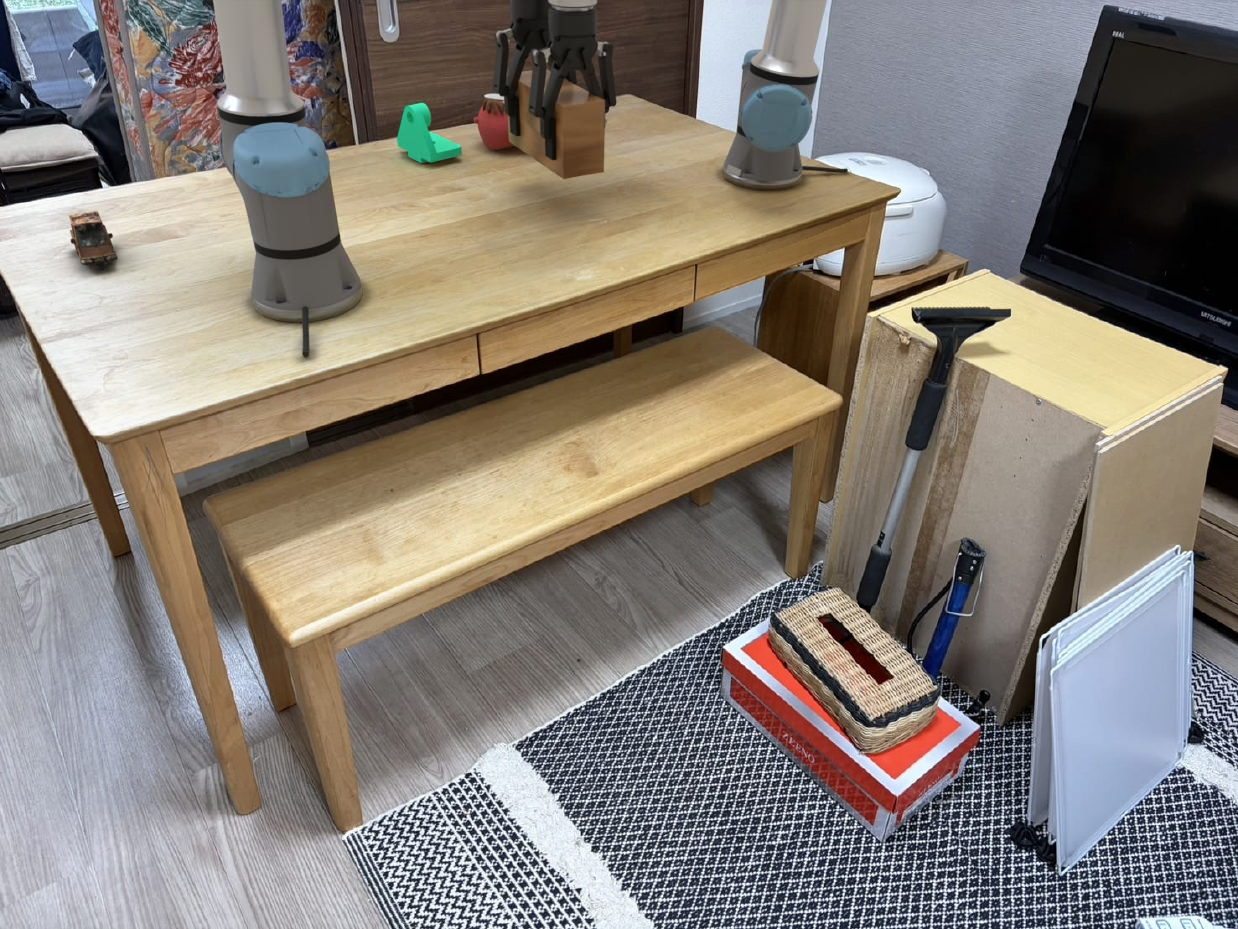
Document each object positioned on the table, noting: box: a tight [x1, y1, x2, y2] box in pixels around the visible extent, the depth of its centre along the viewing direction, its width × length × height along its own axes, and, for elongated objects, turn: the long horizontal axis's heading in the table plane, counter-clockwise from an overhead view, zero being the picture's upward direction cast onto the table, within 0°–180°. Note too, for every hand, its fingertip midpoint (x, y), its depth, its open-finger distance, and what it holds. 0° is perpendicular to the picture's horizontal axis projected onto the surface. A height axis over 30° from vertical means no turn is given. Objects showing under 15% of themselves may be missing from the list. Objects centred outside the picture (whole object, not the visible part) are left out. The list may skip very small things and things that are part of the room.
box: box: [506, 69, 606, 180], centre depth 159 cm, size 22×8×12 cm, turn 30°
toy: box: [473, 93, 609, 150], centre depth 194 cm, size 18×10×30 cm
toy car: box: [68, 210, 118, 272], centre depth 141 cm, size 6×12×7 cm, turn 39°
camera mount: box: [396, 102, 463, 164], centre depth 182 cm, size 12×8×10 cm, turn 42°
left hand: (573, 153), depth 156 cm, fingers closed on box, 8 cm apart
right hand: (536, 130), depth 166 cm, fingers closed on box, 8 cm apart
